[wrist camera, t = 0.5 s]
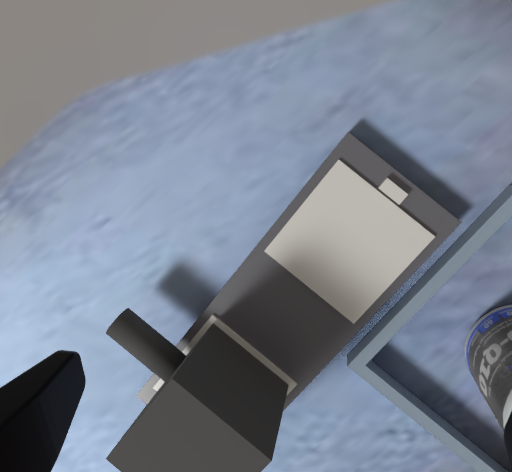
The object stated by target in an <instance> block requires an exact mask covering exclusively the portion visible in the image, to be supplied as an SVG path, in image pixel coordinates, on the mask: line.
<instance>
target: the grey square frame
mask: <svg viewBox="0 0 512 472" xmlns="http://www.w3.org/2000/svg"><path fill="white" fill-rule="evenodd" d="M511 216H512V185H509V186H508V187H507V188H506V189H505V190H504V191H503V192H502V193H501V194H500V195H499V196H498V198H497V199H496V200H495V201H494V202H493V203H492V204H491V205H490V206H489V207H488V208H487V209H486V210H485V211H484V212H483V213H482V214H481V215H480V216H479V217H478V218H477V220H476V221H475V222H474V223H473V224H472V225H471V226H470V227H469V228H468V229H467V230H466V231H465V232H464V233H463V234H462V235H461V236H460V237H459V238H458V239H457V241H456V242H455V243H454V244H453V245H452V246H451V247H450V248H449V249H448V250H447V251H446V252H445V253H444V254H443V255H442V256H441V257H440V258H439V259H438V260H437V261H436V263H435V264H434V265H433V266H432V267H431V268H430V269H429V270H428V271H427V272H426V273H425V274H424V275H423V276H422V277H421V278H420V279H419V280H418V281H417V282H416V284H415V285H414V286H413V287H412V288H411V289H410V290H409V291H408V292H407V293H406V294H405V295H404V296H403V297H402V298H401V299H400V300H399V301H398V302H397V303H396V304H395V306H394V307H393V308H392V309H391V310H390V311H389V312H388V313H387V314H386V315H385V316H384V317H383V318H382V319H381V320H380V321H379V322H378V323H377V324H376V325H375V326H374V328H373V329H372V330H371V331H370V332H369V333H368V334H367V335H366V336H365V337H364V338H363V339H362V340H361V341H360V342H359V343H358V344H357V345H356V346H355V347H354V349H353V350H352V351H351V352H350V353H349V354H348V355H347V366H348V367H349V368H350V369H352V370H353V371H354V372H355V373H357V374H358V375H359V376H360V377H362V378H363V379H364V380H365V381H366V382H368V383H369V384H370V385H371V386H373V387H374V388H375V389H376V390H377V391H379V392H380V393H381V394H382V395H384V396H385V397H386V398H387V399H389V400H390V401H391V402H392V403H393V404H395V405H396V406H397V407H398V408H400V409H401V410H402V411H403V412H404V413H406V414H407V415H408V416H409V417H411V418H412V419H413V420H414V421H416V422H417V423H418V424H419V425H420V426H422V427H423V428H424V429H425V430H427V431H428V432H429V433H430V434H432V435H433V436H434V437H435V438H436V439H438V440H439V441H440V442H441V443H443V444H444V445H445V446H446V447H447V448H449V449H450V450H451V451H452V452H454V453H455V454H456V455H457V456H459V457H460V458H461V459H462V460H463V461H465V462H466V463H467V464H468V465H470V466H471V467H472V468H473V469H474V470H476V471H477V472H508V471H507V470H505V469H504V468H503V467H502V466H500V465H499V464H498V463H497V462H496V461H494V460H493V459H492V458H491V457H489V456H488V455H487V454H486V453H484V452H483V451H482V450H481V449H480V448H478V447H477V446H476V445H475V444H473V443H472V442H471V441H470V440H468V439H467V438H466V437H465V436H464V435H462V434H461V433H460V432H459V431H457V430H456V429H455V428H454V427H452V426H451V425H450V424H449V423H448V422H446V421H445V420H444V419H443V418H441V417H440V416H439V415H438V414H436V413H435V412H434V411H433V410H432V409H430V408H429V407H428V406H427V405H425V404H424V403H423V402H422V401H420V400H419V399H418V398H417V397H416V396H414V395H413V394H412V393H411V392H409V391H408V390H407V389H406V388H404V387H403V386H402V385H401V384H400V383H398V382H397V381H396V380H395V379H393V378H392V377H391V376H390V375H388V374H387V373H386V372H385V371H384V370H382V369H381V368H380V367H379V366H377V365H376V364H375V363H374V362H372V361H371V359H372V358H373V357H374V356H375V355H376V354H377V353H378V352H379V351H380V350H381V349H382V348H383V347H384V346H385V345H386V344H387V343H388V342H389V341H390V339H391V338H392V337H393V336H394V335H395V334H396V333H397V332H398V331H399V330H400V329H401V328H402V327H403V326H404V325H405V324H406V323H407V322H408V321H409V320H410V319H411V318H412V317H413V316H414V315H415V314H416V313H417V312H418V311H419V310H420V309H421V308H422V307H423V306H424V305H425V304H426V303H427V302H428V301H429V300H430V299H431V298H432V297H433V295H434V294H435V293H436V292H437V291H438V290H439V289H440V288H441V287H442V286H443V285H444V284H445V283H446V282H447V281H448V280H449V279H450V278H451V277H452V276H453V275H454V274H455V273H456V272H457V271H458V270H459V269H460V268H461V267H462V266H463V265H464V264H465V263H466V262H467V261H468V260H469V259H470V258H471V257H472V256H473V255H474V254H475V253H476V251H477V250H478V249H479V248H480V247H481V246H482V245H483V244H484V243H485V242H486V241H487V240H488V239H489V238H490V237H491V236H492V235H493V234H494V233H495V232H496V231H497V230H498V229H499V228H500V227H501V226H502V225H503V224H504V223H505V222H506V221H507V220H508V219H509V218H510V217H511Z"/></svg>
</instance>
